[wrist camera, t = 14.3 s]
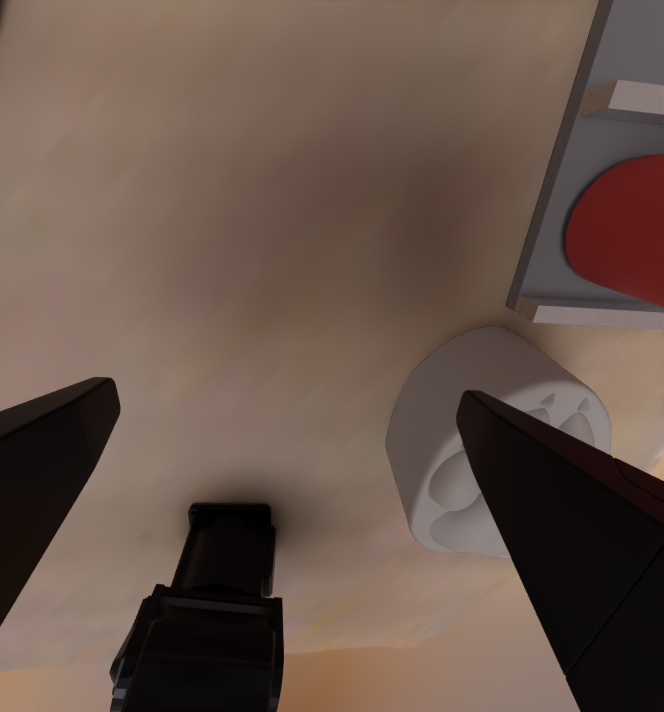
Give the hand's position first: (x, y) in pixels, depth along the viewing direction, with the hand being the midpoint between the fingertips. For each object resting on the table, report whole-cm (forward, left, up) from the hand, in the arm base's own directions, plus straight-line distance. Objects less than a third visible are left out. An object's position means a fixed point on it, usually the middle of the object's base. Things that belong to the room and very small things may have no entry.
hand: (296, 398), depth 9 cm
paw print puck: (+12, -9, -13) cm, 20 cm away
